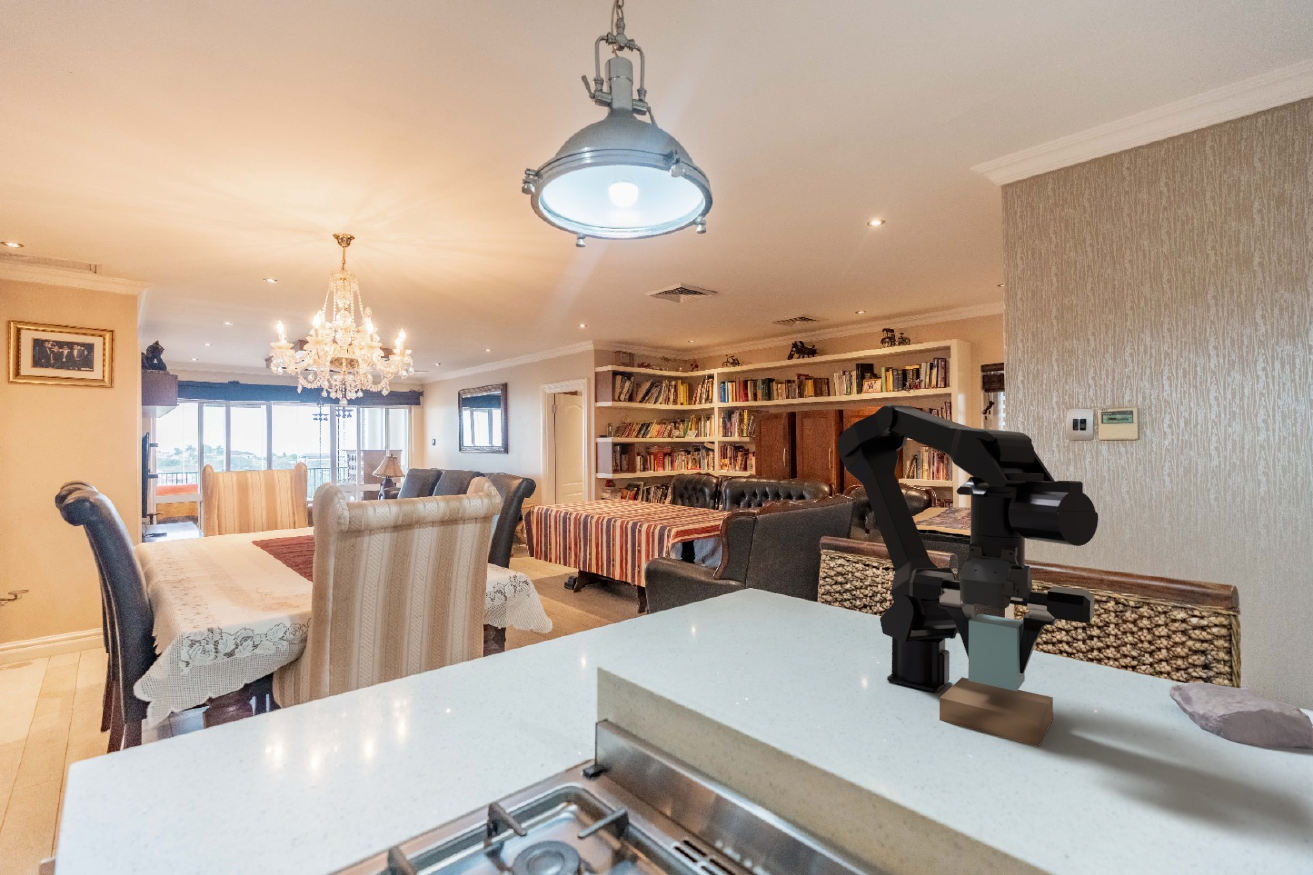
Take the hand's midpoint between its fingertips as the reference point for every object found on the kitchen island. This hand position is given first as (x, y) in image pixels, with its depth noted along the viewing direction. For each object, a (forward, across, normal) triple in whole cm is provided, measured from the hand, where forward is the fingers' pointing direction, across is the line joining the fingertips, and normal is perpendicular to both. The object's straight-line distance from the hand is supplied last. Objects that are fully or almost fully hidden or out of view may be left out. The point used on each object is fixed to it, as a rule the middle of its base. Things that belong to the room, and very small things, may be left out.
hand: (996, 667), depth 74 cm
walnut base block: (+6, 0, 0) cm, 6 cm away
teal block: (+2, 0, 0) cm, 2 cm away
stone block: (+6, +21, +18) cm, 29 cm away
